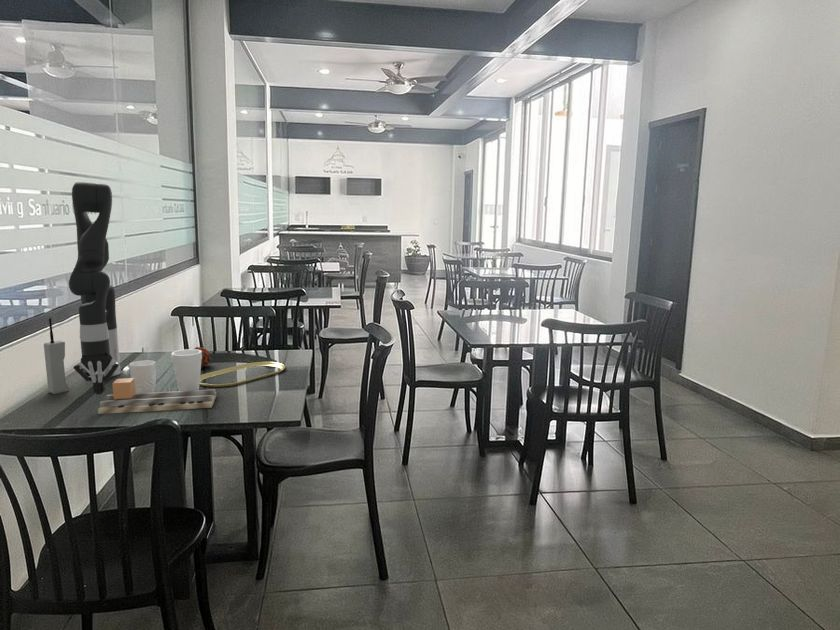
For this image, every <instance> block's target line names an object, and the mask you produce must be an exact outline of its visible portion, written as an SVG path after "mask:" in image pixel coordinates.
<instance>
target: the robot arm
mask: <svg viewBox="0 0 840 630" xmlns="http://www.w3.org/2000/svg"><path fill="white" fill-rule="evenodd" d="M112 193H113V192H112V189H111V186H109V185H108V184H105V183H95V182H84V181H78V182H74V184H73V186H72V188H71V201H72V207H73V212H74V213H73V215H74V219H75V224H76V225H75V226H76V243H77V260H76V263H75V266H74V268H73V270H72V272H71V273H70V277H69V280H68V288H69V291H70V292H71V293H72V294H73V295H74V296H78V297H80V302H81V304H80V305H79V307H78V317H79V339H80V349H81V358H80V361H79V362H78V363H77V364H75V365H73V370H75V371H76V373H77V374H79V375H80V377H82V378H83V379H84V381H85V382H91V383H92V387H93V392H94V394H95V395H103V393H104V392H105V391H106V383H105V382H106V381H108V380H110V379H111V377H115V376H118V375H120V374H121V359H120V348H119V346H120V345H119V337H118V324H117V313H116V312H117V311H116V291H115V287H114V286H113V285H112V284H111V280H110V279H111V278H110V277H109V275H108V274H107V272H105V271H103V269H105V267H106V266H107V264H108V263H109V259H110V249H109V248H110V247H109V242H108V239H107V235H108V228H109V225H110V220H111V219H110V218H111V215H112V214H111V213H112V206H113V194H112ZM88 213H93V214H94V213H97V214H98V216H97V218H96V219H95V220H94V222H92V220H91V219H90V217H89V214H88ZM87 370H88V371H87Z"/></svg>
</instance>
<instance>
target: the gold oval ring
mask: <svg viewBox="0 0 840 630" xmlns="http://www.w3.org/2000/svg"><path fill="white" fill-rule="evenodd" d="M258 366H263V367H264V366H265V367H266V366H267V367H268V366H269V367H276V368H279V370H277V371H274V372H270V373H266V374H263V375H262V374H261V375H259V376H255V377H252V378H247V379H244V380H240V381H236V382H230V383H221V384H219V383H218V384H215V383H212V384H211V383H202V381H203V380H205V379H208V378H212V377H214V376H219V375H223V374H227V373H231V372H236V371H239V370H242V369H246V368H251V367H258ZM285 368H286V367H285V364H283V363H280V362H276V361H254V362H248V363H243V364H239V365H234V366H231V367H227V368H223V369H218V370H215V371H211V372H206V373H203V374H200V384H199V386H203V387H208V388H209V387H210V388H225V387H232V386H237V385H241V384H245V383H249V382H252V381H256V380H260V379H263V378H267V377H270V376H273V375H278V374H280V373H281V372H283V371H284V370H285Z"/></svg>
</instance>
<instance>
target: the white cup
mask: <svg viewBox="0 0 840 630" xmlns="http://www.w3.org/2000/svg"><path fill="white" fill-rule="evenodd" d="M156 363H157V362H156V361H155V360H150V359H148V360H144V359H143V360H136V361H132V362H130V363H129V366H128V367H129V372H130V373H129V374H130V378H135V390H136V393H152V392H157V391H156V389H157V388H156V383H157V372H156V371H157V370H156V367H157V366H156Z"/></svg>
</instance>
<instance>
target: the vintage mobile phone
mask: <svg viewBox="0 0 840 630" xmlns="http://www.w3.org/2000/svg"><path fill="white" fill-rule="evenodd" d="M48 321H49V322H48V323H49V337H50V338H49V339H50V341H49V342H44V343H43V350H44V361H45V370H46V371H45V372H46V378H47V379H46V380H47V381H46V382H47V389H48V392H49V393H50V394H53V395H56V394H61V393H65V392H69V391H70V386H69V385H68V384H67V382H66V381H67V380H66V372H65V362H64V361H65V358H66V342H65V341H62V340H56V341H55V339H54V333H53V325H52V324H53V323H52V318H50V317H49V318H48Z"/></svg>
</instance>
